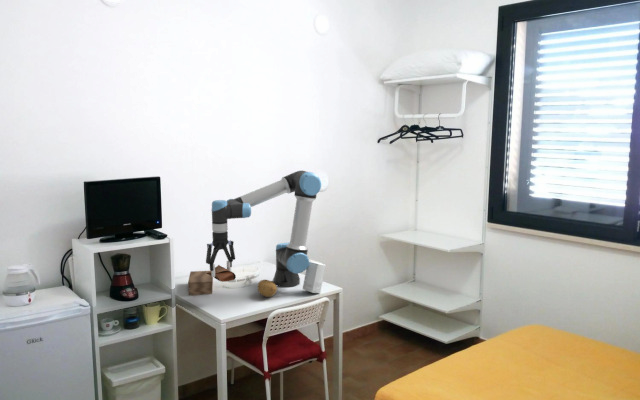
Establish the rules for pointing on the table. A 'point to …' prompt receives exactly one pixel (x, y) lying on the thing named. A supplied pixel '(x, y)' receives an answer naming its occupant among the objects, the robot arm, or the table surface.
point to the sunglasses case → (223, 274)
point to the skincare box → (314, 277)
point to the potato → (267, 288)
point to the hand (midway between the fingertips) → (221, 275)
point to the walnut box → (200, 283)
